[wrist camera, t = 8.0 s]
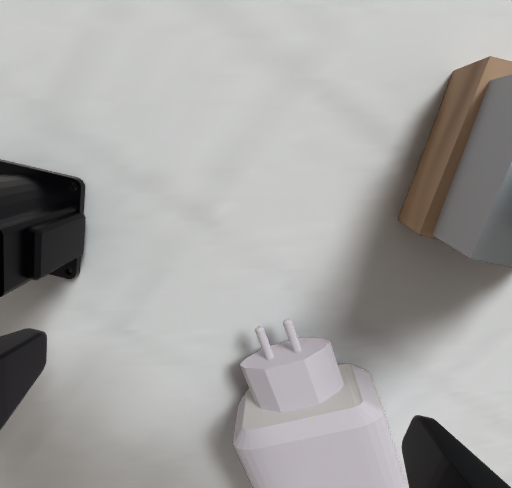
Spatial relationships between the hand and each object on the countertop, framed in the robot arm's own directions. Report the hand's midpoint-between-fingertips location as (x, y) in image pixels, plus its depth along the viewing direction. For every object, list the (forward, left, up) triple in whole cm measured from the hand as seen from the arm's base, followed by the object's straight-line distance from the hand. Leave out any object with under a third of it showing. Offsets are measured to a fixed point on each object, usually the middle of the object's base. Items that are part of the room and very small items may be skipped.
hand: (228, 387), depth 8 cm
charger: (+6, -11, -13) cm, 18 cm away
